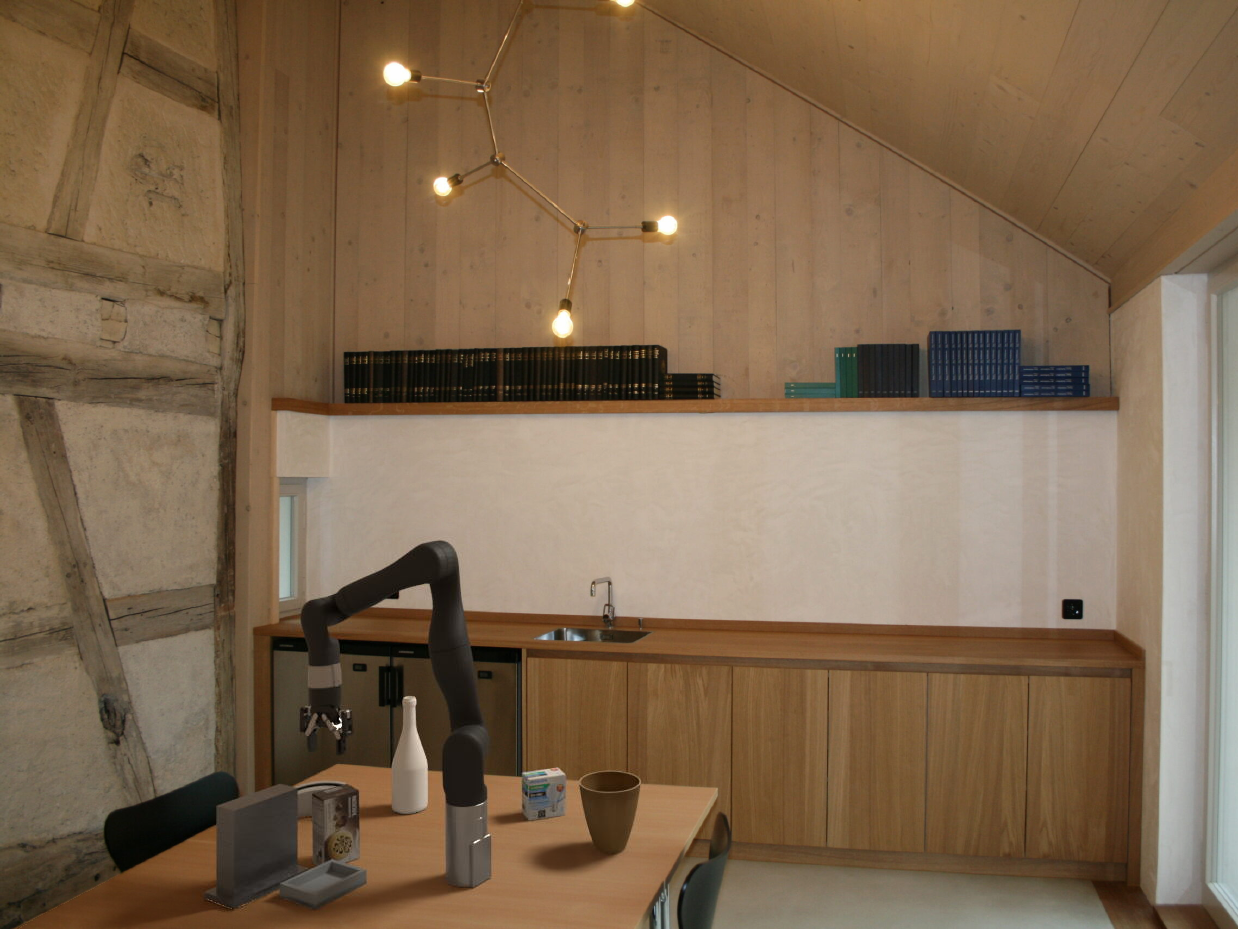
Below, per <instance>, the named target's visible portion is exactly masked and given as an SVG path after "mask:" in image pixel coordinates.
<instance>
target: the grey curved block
mask: <svg viewBox="0 0 1238 929" xmlns="http://www.w3.org/2000/svg"><path fill="white" fill-rule="evenodd" d="M344 784H348V783H347V782H343V781H338V780H317V781H309V782H306V783H301V784H299V785H296V786H294V787H295V788H298V818H305V817H304V816H307V817H312V793H315V792H319V791H322V790H326V789H329V788H333V787H337V786H340V785H344Z"/></svg>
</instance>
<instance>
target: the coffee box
mask: <svg viewBox="0 0 1238 929" xmlns="http://www.w3.org/2000/svg"><path fill="white" fill-rule="evenodd" d="M311 821H312V826H311V827H312V835H311V836H312V863H313V864H314V865H316V866H319V865H321V864H323V863H325V862H327V861H329V860H332V859H333V860H336V861H340V862H343V863H346V864H347V863H349V862H352V861H355V860H357V859H361V841H360V840H361V836H360V832H361V831H360V790H359V789H357V788H356V787H354V786H352V785H351V784H348V783H347V784H344V785H340V786H337V787H333V788H329V789H326V790H322V791H319V792H315V793H312V816H311Z"/></svg>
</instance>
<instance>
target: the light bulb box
mask: <svg viewBox="0 0 1238 929" xmlns="http://www.w3.org/2000/svg"><path fill="white" fill-rule="evenodd" d="M566 805H567V775H566V773H565V772H563V771H562V770H561V769H560V768H559V767H553V768H546V769H539V770H533V771H532V770H531V771H523V772H521V813H522V814H523V815H524V817H525V818H526V819H527V821H535V820H541V819H549V818H555V817H560V816H561V817H562V816H566V815H567V813H566V811H567V806H566Z"/></svg>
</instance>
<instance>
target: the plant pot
mask: <svg viewBox="0 0 1238 929" xmlns="http://www.w3.org/2000/svg"><path fill="white" fill-rule="evenodd" d="M641 780H642V779H641V778H639V776H638V775H636V774H633V773H630V772H625V771H620V770H602V771H596V772H595V771H593V772H591V773H588V774H585V775H583V776H582V777H581V778H580V779H579V780H578V785H579V793H580V799H581V804H582V809H583V814H584V817H585V818H584V819H585V823H586V825H587V829H588V832H589V835H590V837H591V841H592V843H593V846H594V848H595V850H597V851H598V852H600V853H602V854H617V853H621V852H622V851H624V850H625V849H626V847H627V845H628V842H629V841H628V840H629V839H630V836H631V832H632V829H633V827H634V822H635V818H636V814H637V810H638V804H639V799H640V798H639V797H640V791H641V784H642V781H641Z"/></svg>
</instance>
